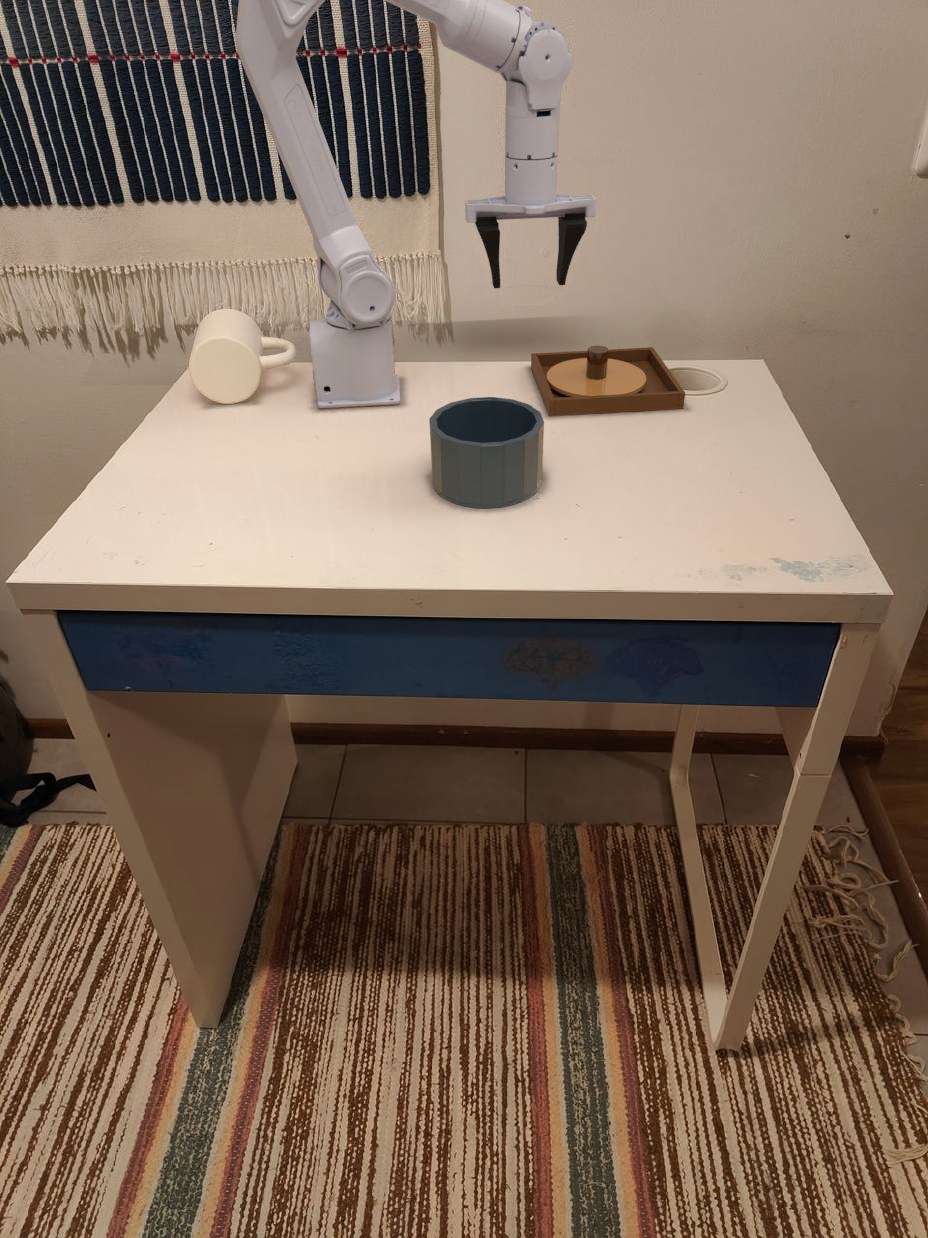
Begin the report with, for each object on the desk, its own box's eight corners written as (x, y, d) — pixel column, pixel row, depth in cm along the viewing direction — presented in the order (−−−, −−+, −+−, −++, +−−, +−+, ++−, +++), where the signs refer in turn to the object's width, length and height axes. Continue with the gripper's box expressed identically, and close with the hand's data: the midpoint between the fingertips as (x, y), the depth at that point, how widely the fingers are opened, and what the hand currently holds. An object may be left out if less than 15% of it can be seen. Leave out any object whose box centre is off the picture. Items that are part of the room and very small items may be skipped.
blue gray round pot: (435, 511, 80) (432, 448, 76) (430, 459, 88) (427, 399, 84) (548, 504, 80) (551, 442, 76) (532, 453, 89) (534, 394, 85)
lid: (554, 407, 97) (556, 370, 94) (539, 368, 106) (540, 334, 103) (656, 402, 97) (661, 365, 94) (632, 363, 106) (635, 329, 104)
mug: (196, 407, 100) (181, 339, 95) (203, 374, 108) (190, 310, 103) (300, 398, 101) (291, 331, 96) (300, 367, 109) (291, 303, 104)
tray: (549, 416, 96) (549, 400, 95) (530, 368, 107) (531, 353, 106) (683, 408, 96) (685, 392, 95) (651, 361, 108) (653, 346, 107)
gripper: (468, 164, 90) (470, 297, 98) (605, 159, 90) (596, 291, 99) (462, 152, 95) (465, 279, 104) (592, 147, 96) (584, 273, 104)
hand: (528, 284), depth 102 cm, fingers open, 7 cm apart
